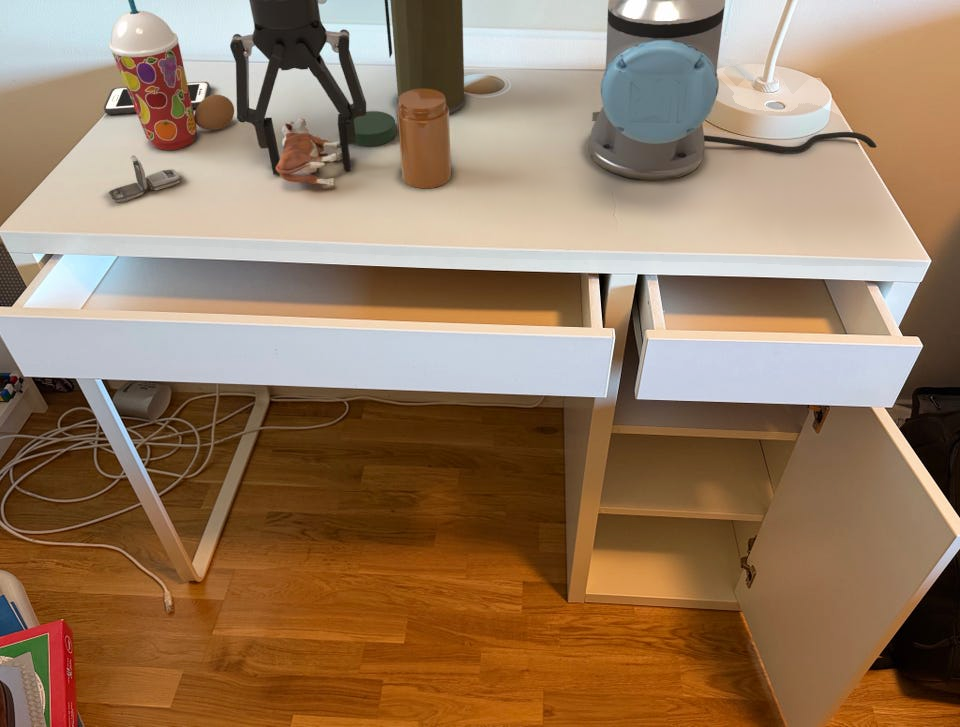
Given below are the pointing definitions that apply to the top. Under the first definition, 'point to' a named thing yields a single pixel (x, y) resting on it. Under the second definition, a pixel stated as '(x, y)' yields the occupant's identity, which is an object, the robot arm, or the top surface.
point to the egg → (214, 112)
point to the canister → (428, 47)
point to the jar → (424, 138)
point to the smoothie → (154, 77)
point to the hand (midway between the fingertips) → (312, 166)
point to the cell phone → (123, 104)
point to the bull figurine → (304, 154)
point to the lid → (374, 128)
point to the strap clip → (145, 182)
